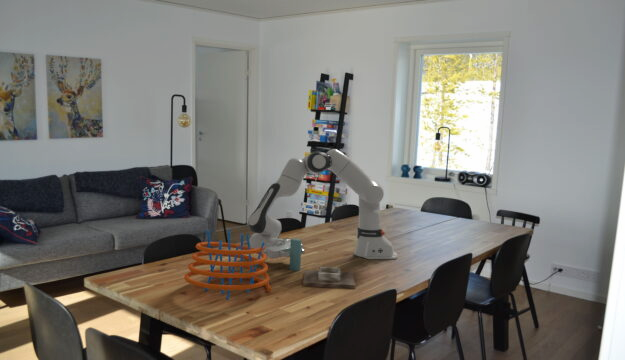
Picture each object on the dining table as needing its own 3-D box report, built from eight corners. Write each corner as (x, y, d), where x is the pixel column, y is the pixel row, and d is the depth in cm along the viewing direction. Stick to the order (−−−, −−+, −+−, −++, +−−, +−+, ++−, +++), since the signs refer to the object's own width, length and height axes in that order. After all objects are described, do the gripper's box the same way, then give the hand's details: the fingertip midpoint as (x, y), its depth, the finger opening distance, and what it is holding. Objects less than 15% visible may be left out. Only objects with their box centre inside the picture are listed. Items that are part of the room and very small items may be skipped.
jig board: (353, 275, 238) (353, 265, 237) (355, 288, 220) (355, 278, 220) (305, 272, 239) (305, 263, 238) (302, 285, 221) (303, 275, 220)
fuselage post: (300, 267, 246) (301, 238, 244) (299, 271, 241) (301, 241, 239) (290, 267, 246) (291, 238, 245) (289, 270, 241) (290, 240, 240)
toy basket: (194, 277, 229) (199, 223, 228) (273, 286, 229) (279, 232, 228) (172, 298, 194) (179, 235, 194) (266, 309, 195) (273, 246, 194)
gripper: (259, 244, 244) (280, 250, 234) (290, 237, 259) (311, 243, 250) (259, 257, 244) (280, 264, 235) (290, 250, 259) (310, 256, 250)
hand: (296, 253), depth 242 cm, fingers open, 8 cm apart
